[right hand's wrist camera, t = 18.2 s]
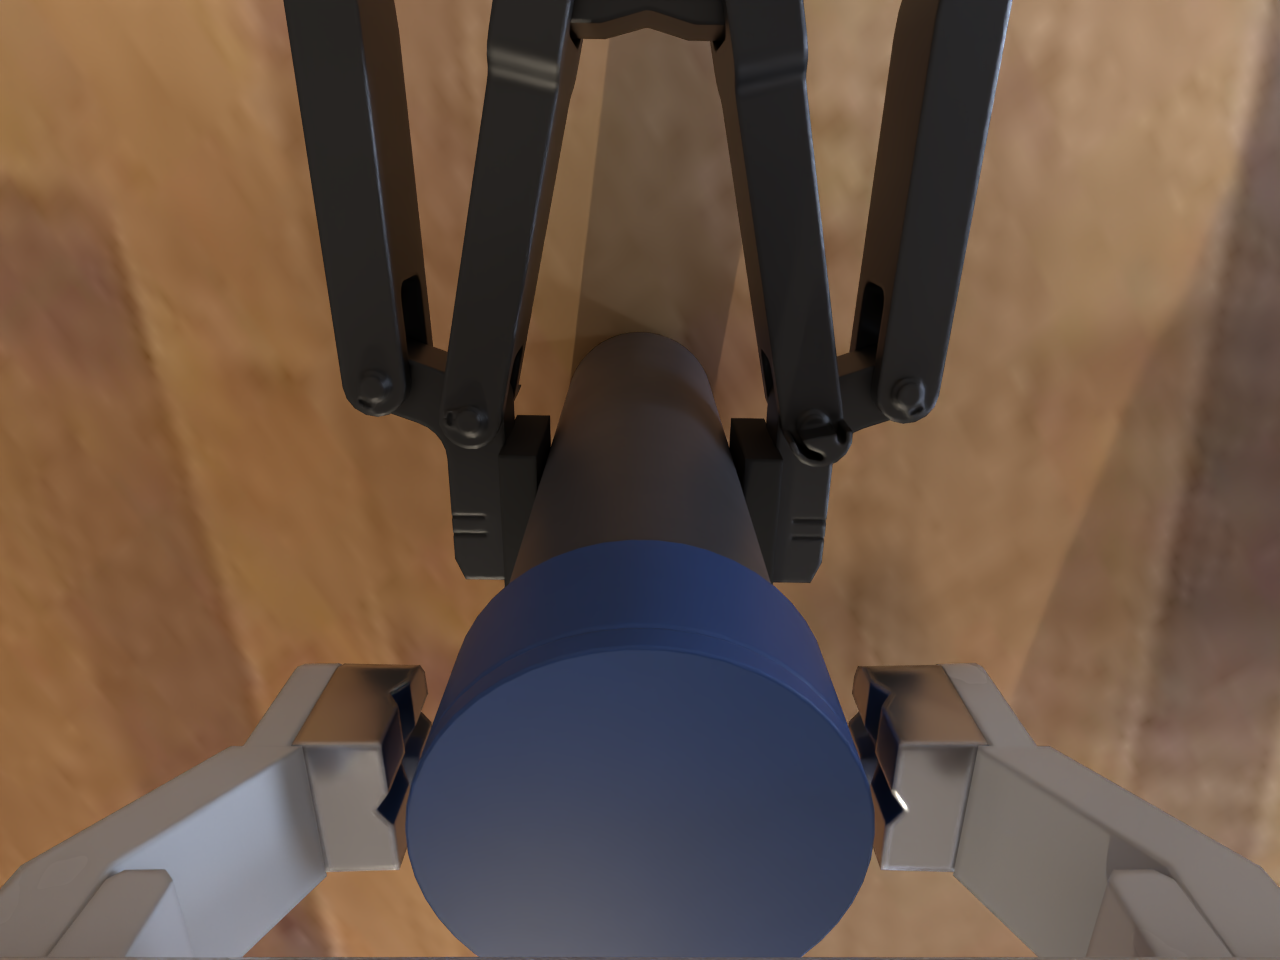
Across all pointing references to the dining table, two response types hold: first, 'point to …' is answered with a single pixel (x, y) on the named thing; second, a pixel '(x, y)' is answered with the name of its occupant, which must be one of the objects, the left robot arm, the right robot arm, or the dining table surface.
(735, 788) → the lid
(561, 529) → the dark gray bottle
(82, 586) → the dining table surface
